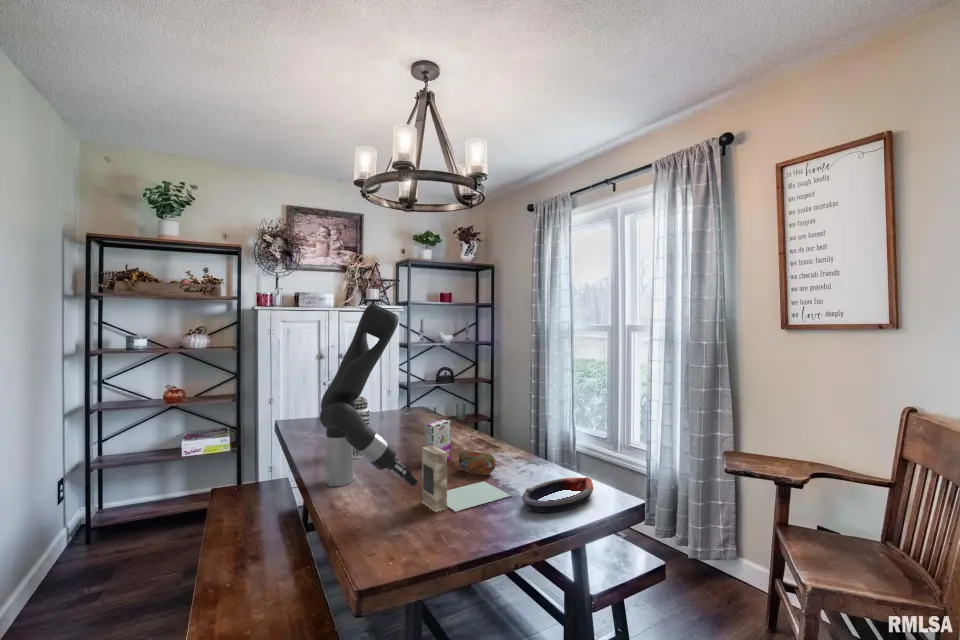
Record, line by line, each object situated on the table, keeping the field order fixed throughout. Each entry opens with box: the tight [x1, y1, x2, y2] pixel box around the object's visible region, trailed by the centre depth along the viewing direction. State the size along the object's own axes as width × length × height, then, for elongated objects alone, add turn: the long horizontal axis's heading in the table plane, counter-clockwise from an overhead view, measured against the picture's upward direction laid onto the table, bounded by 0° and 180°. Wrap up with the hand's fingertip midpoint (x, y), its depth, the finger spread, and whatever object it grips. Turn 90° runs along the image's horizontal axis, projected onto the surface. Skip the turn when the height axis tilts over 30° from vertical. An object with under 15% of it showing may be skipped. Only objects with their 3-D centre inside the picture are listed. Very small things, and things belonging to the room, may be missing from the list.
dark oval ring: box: [521, 476, 594, 513], centre depth 150 cm, size 16×31×5 cm, turn 126°
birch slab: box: [421, 446, 448, 513], centre depth 146 cm, size 4×9×18 cm, turn 35°
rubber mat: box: [447, 481, 512, 513], centre depth 154 cm, size 22×16×1 cm
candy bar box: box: [424, 419, 452, 461], centre depth 190 cm, size 11×5×16 cm, turn 143°
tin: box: [458, 449, 496, 476], centre depth 177 cm, size 15×3×8 cm, turn 62°
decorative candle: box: [353, 396, 371, 459], centre depth 199 cm, size 9×9×25 cm
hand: (414, 483), depth 142 cm, fingers closed
